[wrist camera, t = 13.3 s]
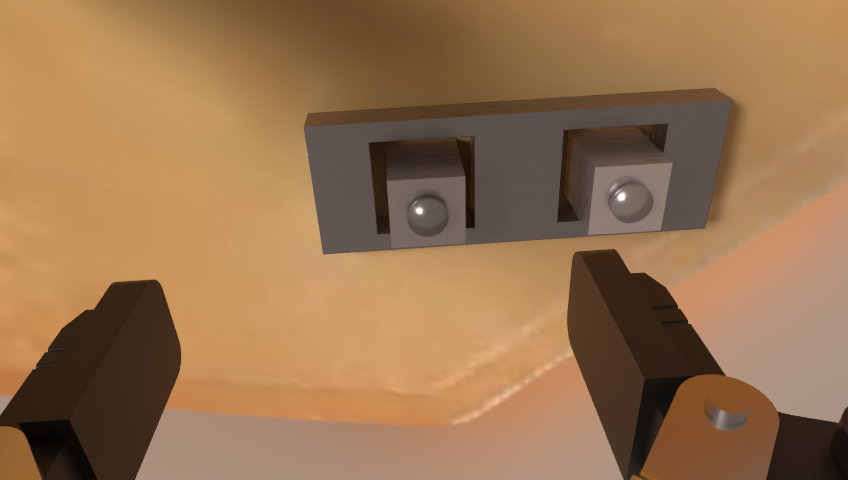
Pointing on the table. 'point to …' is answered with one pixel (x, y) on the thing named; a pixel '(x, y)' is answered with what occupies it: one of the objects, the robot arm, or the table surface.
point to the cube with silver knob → (616, 180)
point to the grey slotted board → (511, 161)
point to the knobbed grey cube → (425, 193)
